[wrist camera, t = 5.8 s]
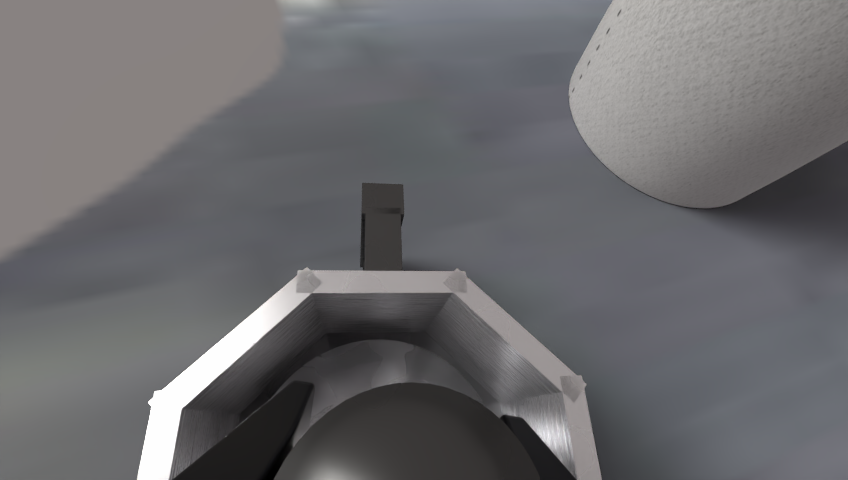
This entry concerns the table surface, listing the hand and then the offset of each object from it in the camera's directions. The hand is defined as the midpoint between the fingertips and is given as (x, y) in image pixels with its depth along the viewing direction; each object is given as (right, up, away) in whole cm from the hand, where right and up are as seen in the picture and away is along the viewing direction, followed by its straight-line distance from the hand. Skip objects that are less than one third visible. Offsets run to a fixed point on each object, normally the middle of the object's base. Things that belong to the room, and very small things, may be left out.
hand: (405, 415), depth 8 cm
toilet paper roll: (+14, +10, +15) cm, 23 cm away
